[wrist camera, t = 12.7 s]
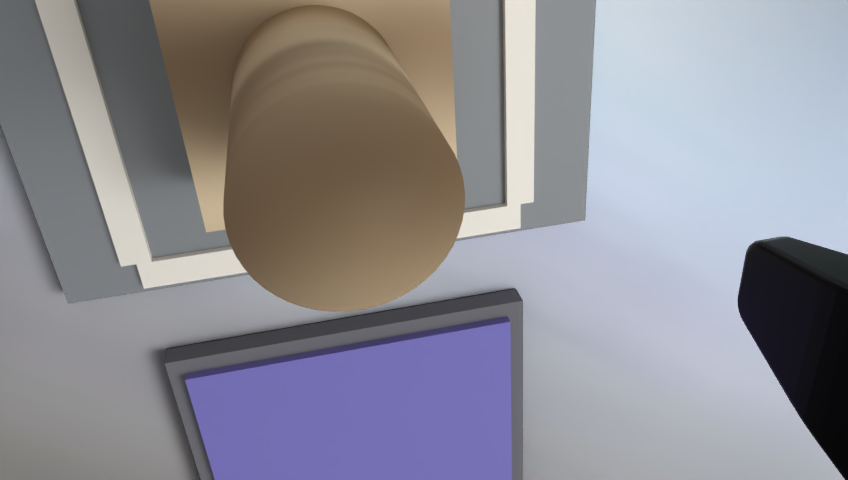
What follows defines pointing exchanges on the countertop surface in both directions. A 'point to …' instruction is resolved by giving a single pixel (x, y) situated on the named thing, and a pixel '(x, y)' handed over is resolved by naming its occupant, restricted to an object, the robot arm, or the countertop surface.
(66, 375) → the countertop surface
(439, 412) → the ink pad
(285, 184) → the stamp
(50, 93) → the marked board
